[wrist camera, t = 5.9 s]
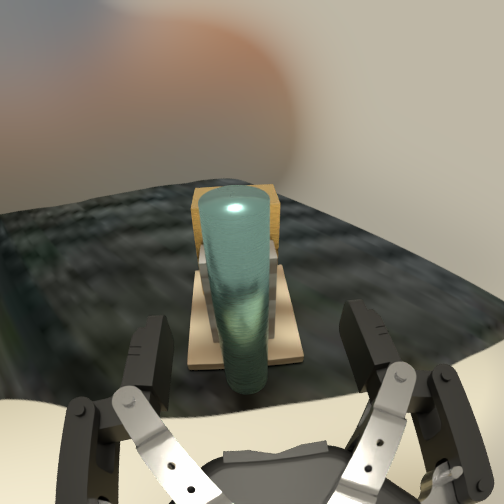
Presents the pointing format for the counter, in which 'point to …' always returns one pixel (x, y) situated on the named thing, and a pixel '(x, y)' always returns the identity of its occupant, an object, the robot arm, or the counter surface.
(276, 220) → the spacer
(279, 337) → the frame
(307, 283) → the counter surface
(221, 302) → the shaft
